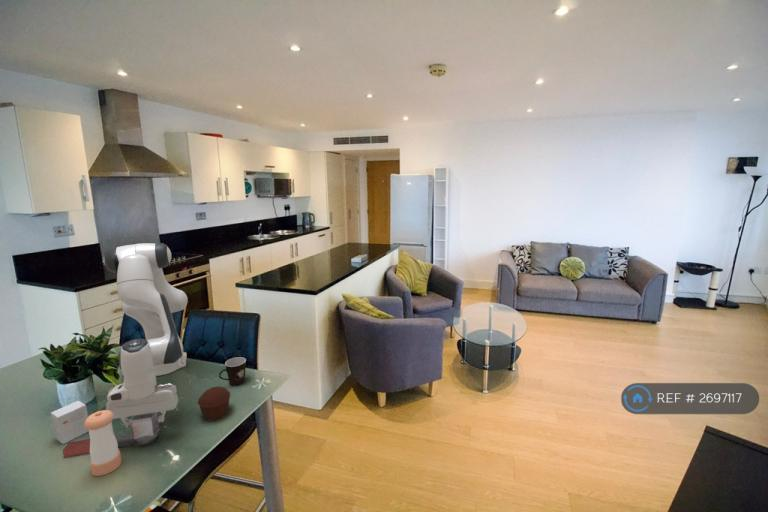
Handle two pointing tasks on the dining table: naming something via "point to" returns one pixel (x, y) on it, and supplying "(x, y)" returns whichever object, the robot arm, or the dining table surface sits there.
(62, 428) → the small box
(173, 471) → the dining table surface
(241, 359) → the coffee mug
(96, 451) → the pepper shaker
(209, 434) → the dining table surface
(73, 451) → the ratchet
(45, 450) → the dining table surface
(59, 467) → the dining table surface
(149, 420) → the light grey cube
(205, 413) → the muffin
